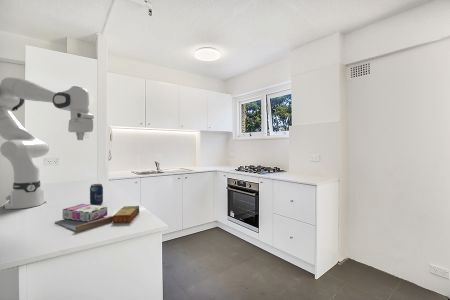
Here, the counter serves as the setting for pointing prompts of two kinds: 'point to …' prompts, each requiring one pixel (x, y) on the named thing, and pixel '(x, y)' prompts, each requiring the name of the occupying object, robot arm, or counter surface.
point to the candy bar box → (85, 212)
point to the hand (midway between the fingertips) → (80, 140)
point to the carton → (126, 214)
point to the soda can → (96, 194)
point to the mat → (71, 223)
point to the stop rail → (93, 224)
